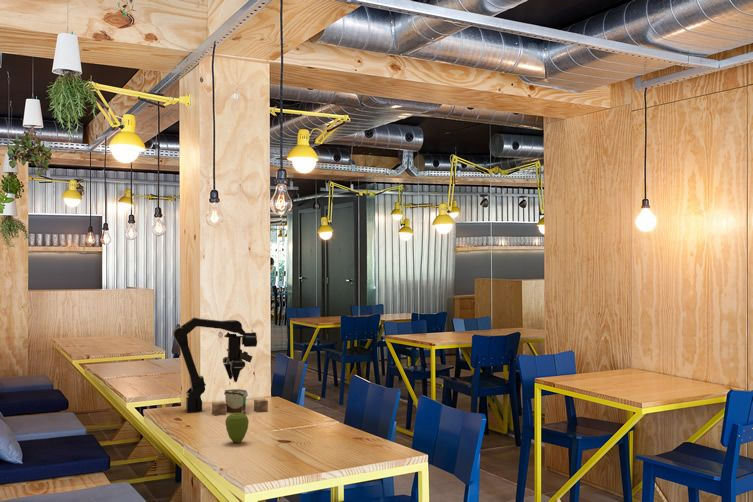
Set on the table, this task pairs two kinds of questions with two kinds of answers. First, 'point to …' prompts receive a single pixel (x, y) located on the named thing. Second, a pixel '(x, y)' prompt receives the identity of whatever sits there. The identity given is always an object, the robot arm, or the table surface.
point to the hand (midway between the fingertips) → (233, 380)
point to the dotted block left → (219, 408)
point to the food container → (235, 400)
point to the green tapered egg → (237, 426)
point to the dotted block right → (261, 405)
